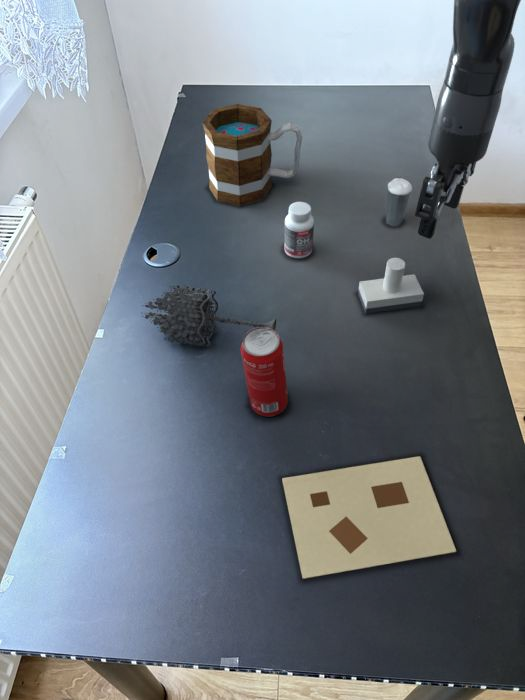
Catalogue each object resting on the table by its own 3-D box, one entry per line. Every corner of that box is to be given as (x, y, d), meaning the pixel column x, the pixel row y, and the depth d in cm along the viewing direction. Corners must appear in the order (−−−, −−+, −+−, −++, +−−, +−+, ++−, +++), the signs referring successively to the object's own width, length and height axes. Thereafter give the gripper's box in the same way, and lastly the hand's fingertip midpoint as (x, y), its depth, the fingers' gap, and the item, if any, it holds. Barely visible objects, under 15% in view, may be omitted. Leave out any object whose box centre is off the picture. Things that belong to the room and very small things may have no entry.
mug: (207, 207, 123) (200, 140, 112) (210, 169, 132) (203, 104, 121) (302, 204, 123) (305, 138, 112) (298, 167, 132) (300, 102, 120)
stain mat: (419, 456, 85) (420, 456, 85) (456, 552, 76) (456, 551, 76) (281, 478, 83) (282, 478, 83) (302, 579, 74) (302, 578, 74)
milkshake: (375, 216, 120) (381, 173, 113) (400, 212, 121) (408, 169, 113) (382, 230, 117) (389, 187, 110) (408, 226, 118) (417, 183, 110)
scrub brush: (411, 286, 107) (420, 250, 101) (420, 306, 104) (430, 269, 97) (357, 293, 106) (362, 257, 100) (365, 313, 103) (371, 277, 97)
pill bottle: (299, 263, 112) (301, 221, 104) (278, 250, 114) (278, 208, 107) (318, 249, 114) (321, 207, 107) (296, 237, 117) (298, 195, 109)
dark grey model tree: (269, 367, 96) (268, 328, 89) (139, 349, 99) (128, 310, 92) (279, 325, 102) (279, 285, 95) (156, 309, 105) (147, 269, 98)
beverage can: (294, 408, 91) (296, 344, 79) (257, 426, 89) (254, 363, 77) (274, 381, 94) (274, 316, 83) (238, 398, 92) (232, 334, 81)
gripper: (469, 152, 71) (440, 256, 83) (514, 102, 78) (481, 204, 90) (412, 133, 73) (392, 236, 86) (460, 86, 81) (435, 188, 93)
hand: (438, 220), depth 88 cm, fingers open, 8 cm apart
